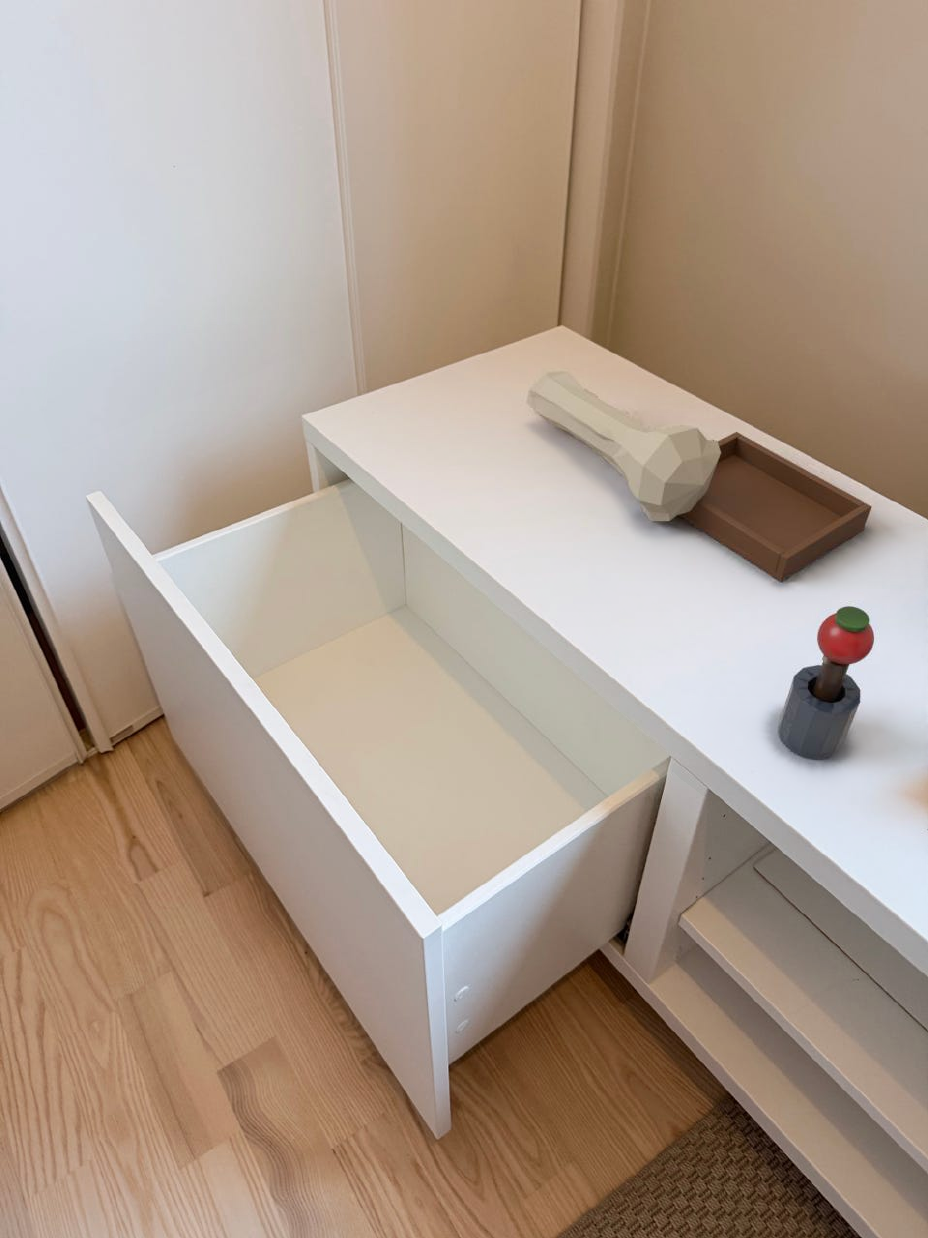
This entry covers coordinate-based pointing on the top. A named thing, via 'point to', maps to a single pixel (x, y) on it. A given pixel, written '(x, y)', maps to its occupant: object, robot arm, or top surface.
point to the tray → (774, 509)
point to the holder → (817, 716)
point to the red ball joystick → (841, 649)
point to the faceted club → (632, 446)
